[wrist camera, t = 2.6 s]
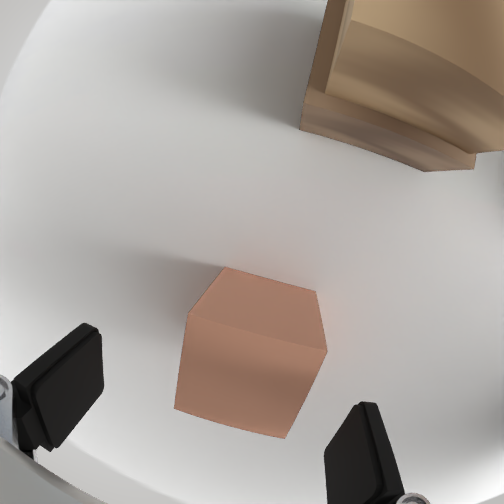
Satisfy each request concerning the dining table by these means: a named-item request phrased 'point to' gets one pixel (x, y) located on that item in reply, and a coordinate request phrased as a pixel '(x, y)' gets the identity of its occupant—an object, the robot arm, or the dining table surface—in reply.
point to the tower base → (369, 115)
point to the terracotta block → (250, 353)
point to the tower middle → (426, 66)
